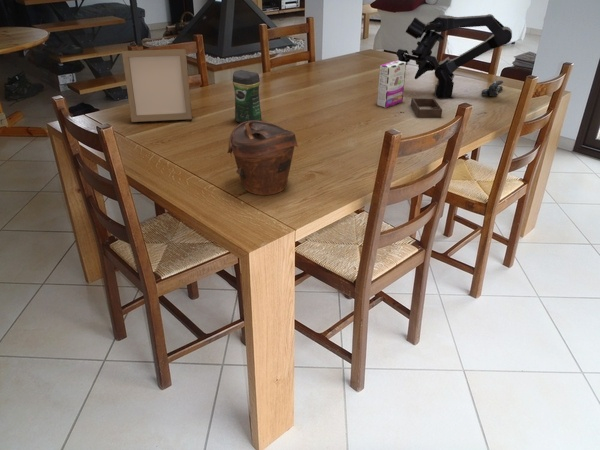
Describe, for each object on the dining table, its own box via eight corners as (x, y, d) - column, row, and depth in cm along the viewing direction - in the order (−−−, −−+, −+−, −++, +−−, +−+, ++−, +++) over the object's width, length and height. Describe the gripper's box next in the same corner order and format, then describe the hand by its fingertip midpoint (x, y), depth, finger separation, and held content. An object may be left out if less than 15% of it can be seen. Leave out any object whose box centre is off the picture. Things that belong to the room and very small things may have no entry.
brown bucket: (243, 167, 153) (239, 111, 144) (305, 176, 149) (306, 118, 139) (218, 194, 139) (213, 132, 129) (287, 204, 134) (286, 141, 125)
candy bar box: (393, 99, 211) (397, 59, 202) (402, 102, 208) (407, 62, 199) (375, 105, 204) (379, 64, 196) (385, 108, 201) (389, 66, 192)
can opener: (494, 99, 211) (497, 86, 208) (478, 96, 215) (481, 83, 212) (508, 90, 223) (511, 77, 220) (493, 87, 227) (495, 74, 224)
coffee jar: (265, 120, 188) (263, 71, 178) (251, 127, 183) (249, 75, 173) (245, 115, 193) (242, 66, 183) (231, 121, 187) (228, 71, 178)
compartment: (432, 105, 204) (433, 98, 202) (441, 117, 192) (442, 109, 190) (410, 105, 204) (411, 98, 202) (417, 117, 192) (418, 109, 190)
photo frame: (192, 121, 187) (184, 52, 174) (132, 124, 184) (119, 54, 171) (192, 108, 200) (185, 43, 187) (136, 111, 197) (125, 45, 184)
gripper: (451, 61, 206) (431, 92, 205) (415, 52, 218) (396, 82, 217) (443, 43, 197) (421, 76, 197) (405, 36, 209) (385, 67, 209)
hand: (406, 76), depth 205 cm, fingers open, 9 cm apart
